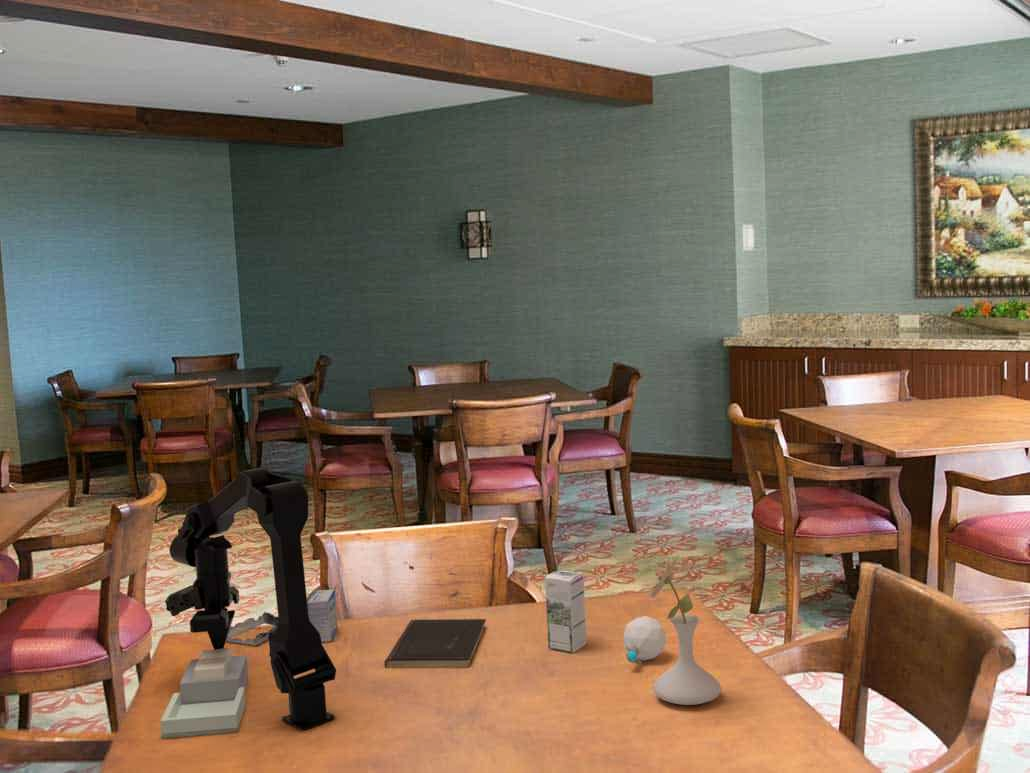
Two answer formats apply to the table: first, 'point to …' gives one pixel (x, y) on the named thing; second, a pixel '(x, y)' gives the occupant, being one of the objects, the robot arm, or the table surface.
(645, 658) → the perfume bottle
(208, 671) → the front tile
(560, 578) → the syrup box
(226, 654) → the rear tile
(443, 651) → the hardcover book
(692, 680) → the flower in vase
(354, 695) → the table surface
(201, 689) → the grey rounded box
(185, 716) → the box
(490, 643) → the table surface
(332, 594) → the medicine box
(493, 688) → the table surface
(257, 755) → the table surface
